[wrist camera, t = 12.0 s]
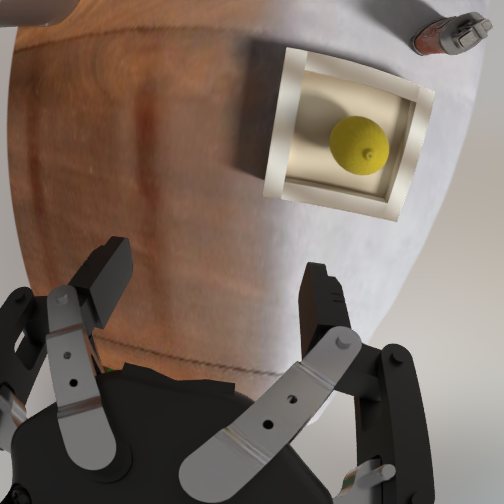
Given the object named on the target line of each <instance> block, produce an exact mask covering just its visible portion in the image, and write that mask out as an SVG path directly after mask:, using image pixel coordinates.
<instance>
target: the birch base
mask: <svg viewBox="0 0 504 504" xmlns="http://www.w3.org/2000/svg"><path fill="white" fill-rule="evenodd" d="M435 93H436V92H434V91H432V90H430V89H427V88H425V87H423V86H420V85H418V84H416V83H413V82H411V81H408V80H405V79H403V78H400V77H397V76H395V75H392V74H389V73H386V72H383V71H380V70H377V69H374V68H371V67H368V66H365V65H361V64H358V63H355V62H351V61H347V60H344V59H340V58H336V57H332V56H328V55H323V54H319V53H314V52H310V51H305V50H299V49H294V48H288V47H287V48H286V51H285V57H284V63H283V69H282V75H281V82H280V88H279V94H278V100H277V106H276V112H275V119H274V125H273V131H272V137H271V143H270V149H269V156H268V162H267V168H266V174H265V180H264V188H263V196H266V197H272V198H278V199H284V200H290V201H295V202H301V203H307V204H312V205H317V206H323V207H328V208H333V209H338V210H343V211H348V212H353V213H358V214H363V215H367V216H372V217H377V218H381V219H386V220H390V221H395V222H397V220H398V218H399V215H400V212H401V210H402V207H403V204H404V201H405V198H406V196H407V193H408V190H409V187H410V184H411V181H412V178H413V175H414V172H415V169H416V165H417V162H418V159H419V155H420V152H421V149H422V145H423V142H424V138H425V134H426V130H427V127H428V123H429V119H430V115H431V110H432V106H433V102H434V97H435ZM350 116H362V117H365V118H368V119H371V120H372V121H374V122H375V123H377V124H378V125H379V126H380V128H381V129H382V130H383V131H384V133H385V135H386V137H387V139H388V143H389V155H388V159H387V161H386V163H385V165H384V166H383V167H382V168H381V169H380V170H379V171H377V172H376V173H373V174H370V175H362V176H361V175H356V174H352V173H350V172H348V171H346V170H345V169H343V168H342V167H341V166H339V164H338V163H337V162H336V161H335V159H334V158H333V155H332V153H331V151H330V145H329V141H330V135H331V132H332V129H333V128H334V126H335V125H336V124H337V123H338V122H339V121H341V120H342V119H344V118H346V117H350Z"/></svg>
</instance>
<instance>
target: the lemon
mask: <svg viewBox="0 0 504 504" xmlns="http://www.w3.org/2000/svg"><path fill="white" fill-rule="evenodd" d="M329 145H330V151H331V153H332V155H333V158H334V159H335V161H336V162H337V163H338V164H339V166H341V167H342V168H343V169H345V170H346V171H348V172H350V173H352V174H356V175H361V176H362V175H370V174H373V173H376V172H377V171H379V170H380V169H381V168H382V167H383V166H384V165H385V163H386V161H387V159H388V155H389V143H388V139H387V137H386V135H385V133H384V131H383V130H382V129H381V128H380V126H379V125H378V124H377V123H375V122H374V121H372V120H371V119H368V118H365V117H362V116H350V117H346V118H344V119H342V120H341V121H339V122H338V123H337V124H336V125H335V126H334V128H333V129H332V132H331V135H330V141H329Z"/></svg>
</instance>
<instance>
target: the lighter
mask: <svg viewBox="0 0 504 504" xmlns="http://www.w3.org/2000/svg"><path fill="white" fill-rule="evenodd" d="M492 28H493V25H492V23H491V21H490V20H489V19H484V18H483V17H482V16H481V15H480V14H479V13H477V12H471V13H467V14H463V15H460V16H458V17H456V16H454V17H449V18H441V19H438V20H434V21H432V22H430V23H428V24H426V25H425V26H423V27H422V28H421V29H420V30H418V31H417V32H416V34H415V35H414V36H413V37H412V38H411V40H410V44H411V47H412V49H413V51H414V52H415V53H417V54H418V55H421V56H426V55H430V54H437V53H446V54H449V55H457V54H460V53H462V52H465V51H467V50H469V49H471V48H473V47H474V46H476V45H477V44H478V43H479V42H480V41H481V40H482V39H484V38H486V37H487V36H488V35H487V32H489V31H490V30H491V29H492Z"/></svg>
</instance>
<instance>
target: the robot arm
mask: <svg viewBox="0 0 504 504" xmlns="http://www.w3.org/2000/svg"><path fill="white" fill-rule="evenodd" d="M78 1H79V0H0V27H15V26H53V25H56V24H58V23H60V22H61V21H63V20H64V19H65V18H66V17H67V16H68V15H69V14H70V13H71V12H72V11H73V10H74V8H75V7H76V5H77V3H78ZM132 273H133V262H132V255H131V249H130V242H129V239H128V238H124V237H116V236H112V237H111V238H110V239H109V240H108V242H107V243H106V244H105V245H104V246H103V245H101V246H100V247H98V248H97V249H95V250H94V251H93V252H92V253H91V254H90V255H89V257H88V258H87V260H86V261H85V262H84V263H83V266H81V267H80V269H79V270H78V271H77V273H76V274H75V275H74V277H73V278H72V279H71V281H70V282H69V284H68V285H61V286H58V287H56V288H54V289H53V290H52V291H51V292H50V293H49V295H48V296H34V294H33V292H32V290H31V289H30V288H28V287H20V288H18V289H16V290H14V291H13V292H12V293H11V294H10V295H9V297H8V298H7V300H6V301H5V302H4V304H3V305H2V307H1V308H0V450H2V451H3V450H5V451H7V452H9V453H11V458H12V468H13V478H12V486H11V489H10V491H9V492H8V494H7V495H6V497H5V498H4V499H3V501H2V502H1V503H0V504H434V501H435V490H434V478H433V467H432V459H431V450H430V443H429V437H428V430H427V424H426V418H425V413H424V407H423V402H422V397H421V393H420V388H419V383H418V379H417V375H416V370H415V366H414V363H413V358H412V356H411V354H410V352H409V351H408V350H407V349H406V348H405V347H403V346H401V345H398V344H388V345H386V346H385V347H384V348H383V349H382V350H380V349H377V348H373V347H371V346H368V345H365V344H363V343H362V342H361V339H360V337H359V335H358V334H357V333H356V332H355V331H353V330H352V329H351V325H350V320H349V316H348V311H347V307H346V303H345V298H344V296H343V290H342V286H341V284H340V283H339V282H338V280H337V279H336V278H335V277H332V276H328V275H327V270H326V266H325V264H320V263H313V262H308V263H307V265H306V269H305V272H304V276H303V279H302V283H301V286H300V290H299V298H298V304H299V319H300V335H301V353H302V361H301V362H298V361H297V362H296V363H294V364H293V365H292V366H291V367H290V368H289V369H288V370H287V371H286V372H285V373H284V374H283V375H282V376H281V377H280V378H279V379H278V380H277V381H276V382H275V383H274V384H273V385H272V386H271V387H270V388H269V389H268V390H267V391H266V392H265V393H264V394H263V395H262V396H261V397H260V398H259V399H258V400H257V401H256V402H254V401H253V400H252V399H250V398H249V397H247V396H245V395H243V394H241V393H239V392H236V391H234V390H235V383H229V382H222V381H215V380H208V379H203V380H182V381H177V380H174V379H171V378H169V377H167V376H165V375H163V374H161V373H158V372H156V371H154V370H152V369H150V368H146V367H141V366H137V365H133V364H129V363H125V364H124V366H123V369H122V370H114V371H109V372H105V371H104V369H103V366H102V363H101V360H100V356H99V353H98V350H97V346H96V343H95V339H94V336H93V333H92V331H93V329H94V327H97V328H101V329H104V328H105V326H106V324H107V322H108V320H109V318H110V316H111V314H112V312H113V310H114V308H115V306H116V304H117V303H118V301H119V299H120V297H121V295H122V293H123V292H124V290H125V288H126V286H127V284H128V282H129V281H130V279H131V277H132ZM22 331H23V333H24V334H25V336H24V338H23V339H22V341H21V343H20V345H19V347H18V349H17V351H16V353H15V350H14V346H15V343H16V341H17V339H18V337H19V335H20V334H21V332H22ZM47 353H48V359H49V365H50V371H51V377H52V382H53V387H54V392H55V397H56V402H55V403H53V404H51V405H50V406H48V407H47V408H45V409H43V410H42V411H40V412H38V413H37V414H35V415H34V416H32V417H30V418H29V419H27V418H26V408H25V404H26V402H27V399H28V397H29V394H30V392H31V389H32V387H33V384H34V382H35V380H36V377H37V375H38V373H39V370H40V368H41V366H42V364H43V362H44V360H45V357H46V355H47ZM333 390H336V391H340V392H343V393H346V394H349V395H352V396H354V404H355V420H356V439H357V440H356V441H357V467H356V468H354V469H352V470H351V471H349V472H348V473H347V475H346V476H345V478H344V480H343V485H342V489H341V491H340V493H339V494H338V495H337V496H336V497H335V498H333V499H332V497H331V495H330V493H329V491H328V490H327V489H326V487H325V486H324V485H323V484H322V483H321V481H320V480H319V479H318V478H317V477H316V476H315V475H314V473H313V472H312V471H311V470H310V469H309V467H308V466H307V465H306V464H305V463H304V462H303V460H302V459H301V458H300V456H299V455H298V454H297V453H296V452H295V450H294V449H293V448H292V447H291V446H290V443H291V442H292V440H294V439H295V438H296V436H297V435H298V434H299V433H300V432H301V431H302V429H303V428H304V427H305V426H306V425H307V423H308V422H309V421H310V420H311V418H312V417H313V416H314V415H315V413H316V412H317V411H318V410H319V408H320V407H321V406H322V405H323V403H324V402H325V401H326V400H327V398H328V397H329V396H330V394H331V393H332V392H333Z"/></svg>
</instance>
